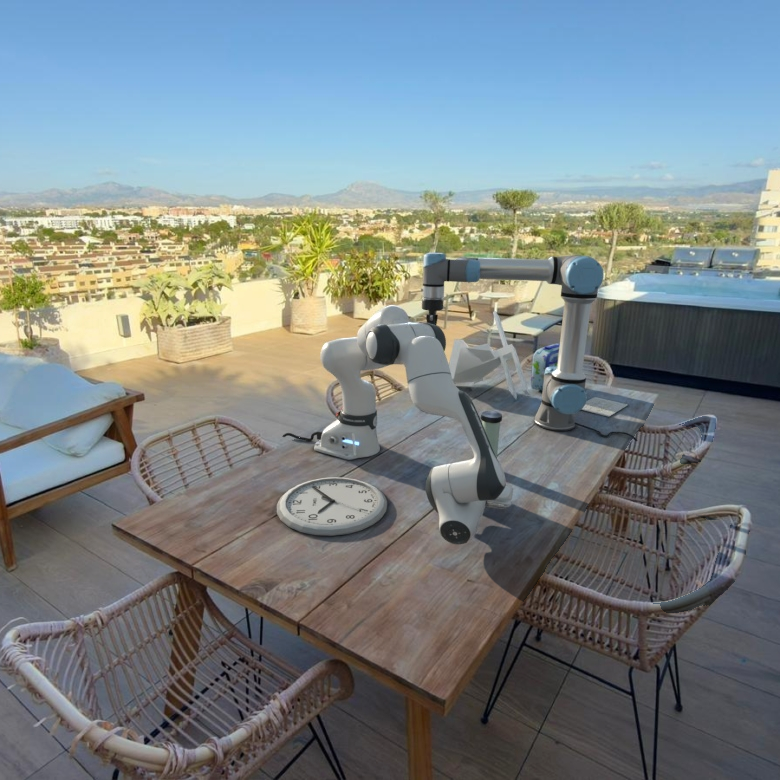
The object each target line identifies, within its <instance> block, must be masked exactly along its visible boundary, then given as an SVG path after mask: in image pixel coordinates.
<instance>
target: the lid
mask: <svg viewBox="0 0 780 780" xmlns="http://www.w3.org/2000/svg"><path fill="white" fill-rule="evenodd" d="M480 420H481V422H482V421H484V422H488V423H499V422H500V423H501V422H503V421H502V420H503V415H502V413H501V412H498V411H493V410H485V411H483V412H481V414H480Z"/></svg>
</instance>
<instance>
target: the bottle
mask: <svg viewBox="0 0 780 780" xmlns="http://www.w3.org/2000/svg"><path fill="white" fill-rule="evenodd" d="M481 422H482V425H483V427H484V429H485V432H486V434H487V437H488V439H489V442H490V444H491V447H492V449H493V451H494V453H495V455H496V457H497V458H498V451H499V442H500V441H499V440H500V430H501V429H500V428H501V422H499V423H488V422H484V421H482V420H481Z"/></svg>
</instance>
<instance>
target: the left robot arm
mask: <svg viewBox="0 0 780 780" xmlns="http://www.w3.org/2000/svg"><path fill="white" fill-rule="evenodd" d="M446 347H447V338H446V335H445V333H444V331H443V329H442V328H441V327H440V326H438V325H437V324H436V325H434V324H430V323H427V322H425V321H422V320H420V321H419V322H411V321H410V318H409V314H408V313H407V312H406V310H405V309H403V308H402V307H401V306H398V305H395V304H394V305H393V304H391V305H386V306H384V307H382V308H380V309H378V310H377V311H375V313H373V314H372V315H371V316H370V317H369V318H368V319H367V320H366V321H365V323H363V324H362V325H361V326H360V328H359V329H358V331H357V334H356V336H354V337H343V338H342V337H341V338H336V339H333V340H330V341H327V342H325V343H324V344H323V345H322V347H321V349H320V353H319V354H320V355H319V359H320V363H321V365H322V367H323V368H324V369H325V370H326V371H327V372H328V373H330V374H331V375H332V376H333V377H335V379H336V380H337V381H338V383H339V386H340V390H341V399H342V406H341V407H340V409H338V411H337V412H336V413H335V418H336V420H334V421H333V422H331V423H330V424H328V425H327V426H322V427H321V428H319V429H318V430H317V431H314V432H312V433H311V434H310V438H308V437H304V436H300V435H296V434H294V433H291V432H286V433H284V434H282V435H281V437H282V438H286V437H287V436H289V437H292V438H294V439H296V440H301V441H306V442H312V441H313V440H314V439H315V436H316V440H317V441H316V442H315V443H314V447H313V449H314V451H315V452H318V453H322V454H325V455H330V456H332V457H337V458H340V459H344V460H347V461H352V460H356V459H359V458H367V457H372V456H374V455H377V454H378V453H379V452H380V450H381V446H380V443H379V439H378V433H377V426H378V425H377V424H378V410H377V390H376V388H375V386H374V385H373V384H372V383H371V382H370V381H368V380H365V379H363V378H362V377H361V372H365V371H371V370H379V369H383V368H386V367H388V366H393V365H396V366H397V365H398V366H399V365H403V366H404V368H405V376H406V382H407V387H408V392H409V396H410V399H411V401H412V404H413V405H414V406H415V407H416V408H417V409H418V410H419V411H421V412H423V413H425V414H429V415H432V416H439V417H446V418H452V419H454V420H456V421H457V422H459V423H460V425H461V426H462V428H463V431H464V433H465V436H466V438H467V440H468V444H469V446H470V448H471V450H472V453H473V458H471V459H466V460H465V459H464V460H460V461H456V462H450V463H444V464H440V465H437V466H433V467H432V468H431V469H430V471H429V473H428V474H427V478H426V480H425V494H426V498H427V500H428V502H429V505H430V506H431V507H432V509H433V510H434V511H435V512H436V513H437V514H438V530H439V534H440V536H441V537H442V538H443V540H445V541H446V542H448V543H450V544H452V545H463V544H467V543H468V542H470V541H471V540H472V539H473V538H474V536H475V535H476V533H477V531H478V529H479V526H480V524H481V519H482V516H483V515H484V512H485V509H486V508H493V509H498V510H504V509H507V508H510V507H511V506H512V499H513V491H514V489H513V487H512V486H511V485H509V484H506V483H507V481H506V475H505V472H504V469H503V467H502V466H501V464H500V461H499V460H498V456H497V457H496V455H495V453H494V451H493V449H492V447H491V444H490V442H489V439H488V437H487V434H486V432H485V429H484V427H483V425H482V420H481V416H480V415H479V412H478V411H477V408H476V406H475V404H474V402H473V400H472V399H471V397H470V395H468V393H467V392H466V391H463V390H460V389H459V388H458V387H457V386H456V384H454V382H453V380H452V376H451V372H450V368H449V362H448V361H449V360H448V358H447V355H446V353H445V351H446ZM299 437H300V438H299Z"/></svg>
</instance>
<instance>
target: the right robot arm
mask: <svg viewBox="0 0 780 780" xmlns="http://www.w3.org/2000/svg"><path fill="white" fill-rule="evenodd" d="M422 264H423V265H422V288H420V292H421V293H422V295H421V296H422V299H421V309H422V310H423V311H428V313H426V317H425V320H426V323H430V324H434V325H436V326H437V324H438V318H439V315H438V314H437V311H438V312H439V311H442V310H444V299H443V298H444V297H445V282H447V283H449V282H452V283H453V282H455V283H456V282H457V283H468V284H470V283H478V282H479V281H480V280H495V281H497V280H499V281H500V280H501V281H526V282H527V281H531V282H546V283H547V284H548V285H557V286H561V289H560V298H561V299H562V300H563V303H564V305H563V313H562V322H561V330H560V339H559V344H560V347H559V355H558V364H557V366H553V367H547V368H546V369H545V373H544V382H543V390H542V394H541V402H540V405H539V407H538V410H537V411H536V413H535V417H534V424H535V425H536V426H537V427H539V428H542V429H544V430H549V431H556V432H567V431H572V430H574V429H575V428H576V426H579V427H582V428H583V429H584V428H585V429H587V430H591V431H594V432H595V433H597V434H598V435H599V436H600V437H604V438H607V437H609V436H611V435H614V434H615V435H617V434H618V435H626V436H629V437H631V438H632V439H633V440H634V441H635V442H638V439H637V438H636V437H635V436H634V435H632V434H631V433H628V432H624V431H610V432H609V433H608V434H602V433H601V431H599V430H598V429H595V428H593V427H591V426H586V425H584V424H582V423H578V422H576V418H575V417H576V416H575V414H576V413H579V412H580V411H582V410H581V409H582V408H583V407H584V406H585V404H586V401H588V397H587V392H586V383H587V382H586V381H587V375H586V374H585V373H584V371H583V369H584V363H585V362H584V361H585V355H586V347H587V339H588V338H587V337H588V330H589V324H590V318H591V317H590V316H591V308H592V303H593V302H594V301H596V300H597V298H598V294H599V293H598V291H599V288H601V285H602V284H603V281H604V269H603V267H602V265H601V264H600V262H599V261H597V260H596V259H595V258H594V257H592V256H587V255H581V254H574V255H573V254H572V255H565V256H551V257H549V258H548V259H545V258H544V259H543V258H542V259H541V258H540V259H539V258H501V257H500V258H497V257H496V258H495V257H494V258H492V257H466V256H460V257H457V258H455V259H451V258H449V259H448V258H447V257H446V253H444V252H427V253H425V254H424V255H423V263H422Z"/></svg>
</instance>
